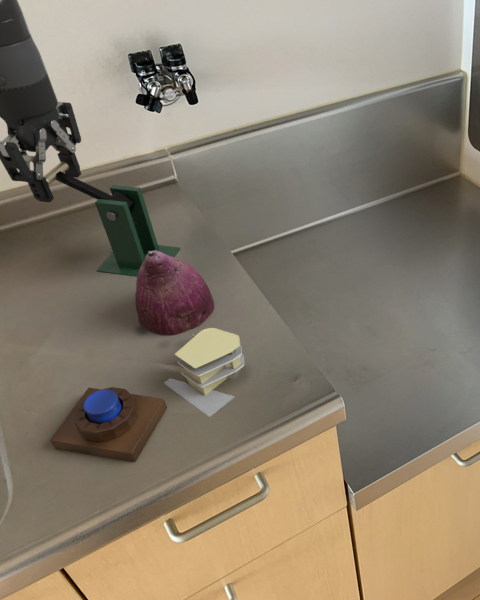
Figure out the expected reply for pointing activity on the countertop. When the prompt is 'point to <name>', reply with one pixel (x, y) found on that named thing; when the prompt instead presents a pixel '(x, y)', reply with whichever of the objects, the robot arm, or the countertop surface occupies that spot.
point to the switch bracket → (128, 233)
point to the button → (102, 406)
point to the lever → (84, 186)
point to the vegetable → (171, 295)
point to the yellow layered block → (208, 368)
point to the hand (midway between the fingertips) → (60, 187)
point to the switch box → (111, 427)
